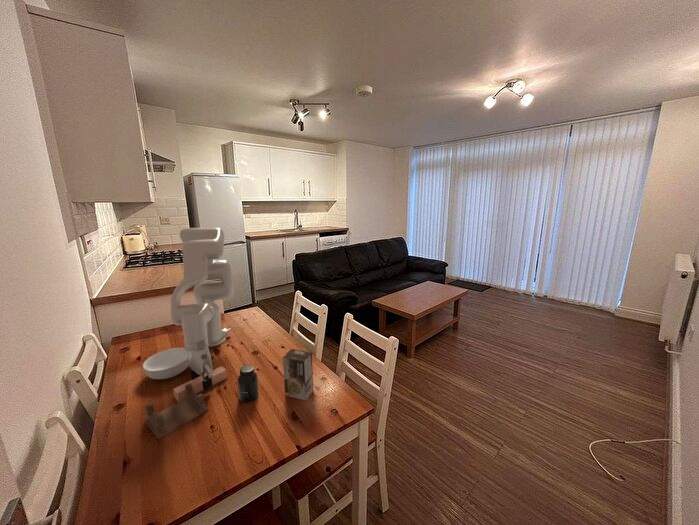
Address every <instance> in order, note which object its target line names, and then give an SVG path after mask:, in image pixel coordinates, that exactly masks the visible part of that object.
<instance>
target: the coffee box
mask: <svg viewBox="0 0 699 525" xmlns="http://www.w3.org/2000/svg"><path fill="white" fill-rule="evenodd" d="M282 367H283V379H284V395H285V396H287V397H291V398H295V399H299V400H302V401H307V400H308V399H309V397H310V396H311V395H312V393H313V392H314V377H313V376H314V375H313V374H314V373H313V352H310V351H305V350H299V349H294V348H291V349H289V351H288V352H286V354H285V355H283V357H282Z"/></svg>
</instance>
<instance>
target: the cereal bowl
mask: <svg viewBox="0 0 699 525" xmlns="http://www.w3.org/2000/svg"><path fill="white" fill-rule="evenodd" d="M188 367H189V363H188V355H187V351H186V349H185V347H173V348H168V349H165V350H162V351H159V352H157V353H155V354H153V355H151V356H150V357H148V358H147V359H146V360H145V361H144V362H143V363H142V369H143V372H144V374H145V375H146V376H147V377H148V378H150V379H152V380H165V379H166V380H167V379H171V378H174V377H176V376H177V375H180V374H181V373H183V372H184V371H185V370H186V369H188Z"/></svg>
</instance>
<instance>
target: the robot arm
mask: <svg viewBox="0 0 699 525" xmlns="http://www.w3.org/2000/svg"><path fill="white" fill-rule="evenodd" d="M179 238H180V240H181V242H182V243H183V247H182V258H183V259H182V262H183V263H182V264H183V267H182V268H183V269H182V270H183V279H182V280H181V281H180V282H179V283H178V285H176V287H175V289H173V292H172V294H171V298H170V318H171V322H172V323H173V324H174V325H176V326H181V328H182V332H183V340H184V342H183V343H184V348H185V349H186V351H187V355H188V363H189V366H188V367H189V372H190V379H191V380H193V379H195V378H197V377H200V376H202V379H203V381H202V384H203V391H207V390H208V389H211V388H212V387H213V385H212V370H214V369H213V368H214V367H213V363H212V357H211V352H210V349H209V348H211V347H216V346H219V345H222V343H224V342H226V340H227V336H226V335H227V334H229V333H232V328H226V327H225V328H223V327H222V319H221V311H220V310H221V309H220V305H218V303H216V302H215V301H223V300H230V299H232V298H233V296H234V285H233V284H234V283H233V275H232V267H231V264H230V262H229V261H228V260H226V259H222V257H223V254H224V247H225V233H224V231H223V229H222V228H220V227H217V226H216V227H214V226H213V227H211V226H210V227H187V228H184V229H181V230H180V232H179ZM214 280H215V281H214ZM192 287H193V296H194V298H195V301H196V302H195V303H191V304H189V303H188V304H183V305H181V299H182V297H183V295H184V293H185V292H186V291H187V290H188V289H190V288H192ZM222 328H223V329H222ZM206 373H207V376H206V377H205V376H204V374H206ZM191 380H190V381H191Z"/></svg>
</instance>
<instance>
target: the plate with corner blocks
mask: <svg viewBox="0 0 699 525" xmlns="http://www.w3.org/2000/svg"><path fill="white" fill-rule="evenodd" d="M185 390H186V391H185V394H186V399H184V400H182V401H180V402H178V401H177V402H176V403H174V404H173V405H170V406H168V407H167V408H165V409H163V410H161V411H159V412H156V411H155V407H154V403H153V402H149V403H148V404H145V405H144V407H145V414H146V418H145V419H144V423H146V425H147V426H148V428H149V429H150V431H151V432H152V433H153V435H154V436H155V437H156V439H157V440H160V439H162V438H163V437H165V436H166V435H168V434H170V433H172V432H173V431H175V430H176V429H179V428H180V427H182V426H183V425H186V423H187V424H188V423H189V422H190V421H192V420H193V419H195V418H197V417H198V416H200V415H202V414H204V413H206V412H207V411H209V409H208V407H207V406H206V402H205V398H204V394H203V393H202V392H201V393H200V392H199V394H198V393H197V394H196V393H195V392H194V391H193V388H192V384H188V385H186V386H185Z"/></svg>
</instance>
